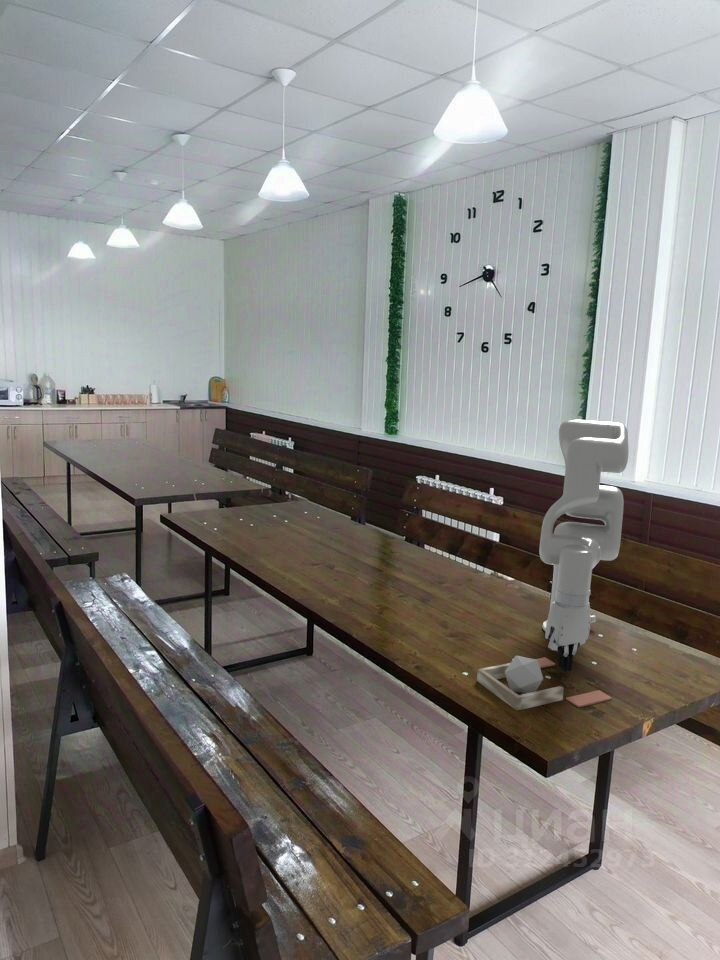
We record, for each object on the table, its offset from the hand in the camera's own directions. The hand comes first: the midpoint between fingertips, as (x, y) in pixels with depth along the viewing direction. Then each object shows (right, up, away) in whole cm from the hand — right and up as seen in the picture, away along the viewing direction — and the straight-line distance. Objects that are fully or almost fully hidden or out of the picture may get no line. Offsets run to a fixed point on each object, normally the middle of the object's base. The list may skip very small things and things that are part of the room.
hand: (564, 668), depth 172 cm
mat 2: (+3, -5, -9) cm, 11 cm away
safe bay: (-12, -3, -6) cm, 14 cm away
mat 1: (-5, -1, +8) cm, 9 cm away
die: (-12, -4, -6) cm, 14 cm away
